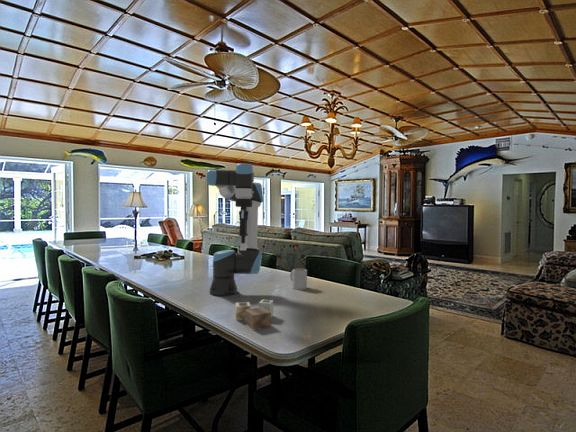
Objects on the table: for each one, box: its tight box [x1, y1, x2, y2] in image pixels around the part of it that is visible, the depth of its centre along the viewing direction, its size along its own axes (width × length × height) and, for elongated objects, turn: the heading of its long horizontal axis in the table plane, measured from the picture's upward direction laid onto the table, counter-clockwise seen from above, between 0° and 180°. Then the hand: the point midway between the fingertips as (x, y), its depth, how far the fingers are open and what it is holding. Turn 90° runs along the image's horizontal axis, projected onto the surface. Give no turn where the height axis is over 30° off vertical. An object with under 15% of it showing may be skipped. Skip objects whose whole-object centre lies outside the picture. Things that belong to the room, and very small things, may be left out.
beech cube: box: [235, 301, 252, 321], centre depth 148 cm, size 6×6×6 cm
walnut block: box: [244, 307, 272, 330], centre depth 140 cm, size 8×8×6 cm
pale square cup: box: [258, 299, 274, 319], centre depth 150 cm, size 5×5×7 cm
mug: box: [289, 267, 308, 291], centre depth 204 cm, size 12×8×11 cm
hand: (243, 250), depth 155 cm, fingers closed
